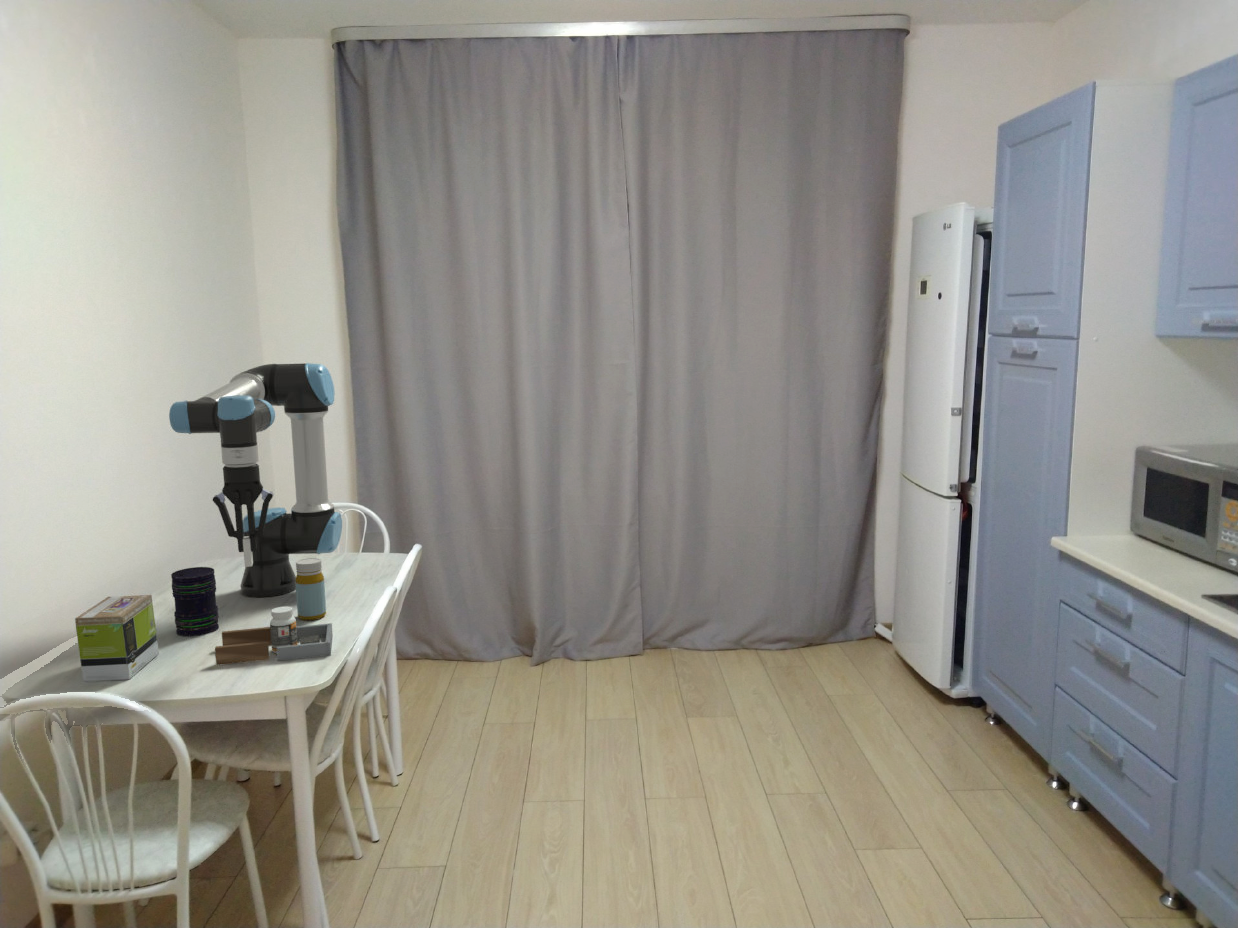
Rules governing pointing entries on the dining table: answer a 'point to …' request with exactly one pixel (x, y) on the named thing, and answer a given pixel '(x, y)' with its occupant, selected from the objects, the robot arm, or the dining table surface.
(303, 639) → the grey square block
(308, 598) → the bottle
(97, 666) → the tea box
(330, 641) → the frame
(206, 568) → the dark blue canister
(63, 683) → the dining table surface
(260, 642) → the slot
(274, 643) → the pill bottle
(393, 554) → the dining table surface
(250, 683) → the dining table surface
